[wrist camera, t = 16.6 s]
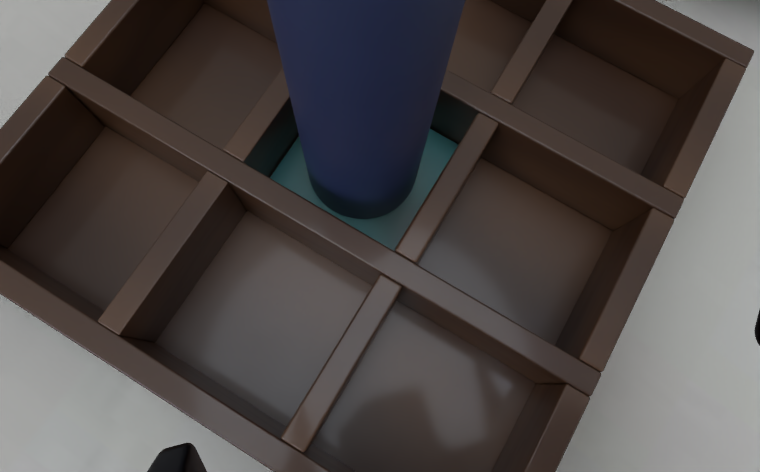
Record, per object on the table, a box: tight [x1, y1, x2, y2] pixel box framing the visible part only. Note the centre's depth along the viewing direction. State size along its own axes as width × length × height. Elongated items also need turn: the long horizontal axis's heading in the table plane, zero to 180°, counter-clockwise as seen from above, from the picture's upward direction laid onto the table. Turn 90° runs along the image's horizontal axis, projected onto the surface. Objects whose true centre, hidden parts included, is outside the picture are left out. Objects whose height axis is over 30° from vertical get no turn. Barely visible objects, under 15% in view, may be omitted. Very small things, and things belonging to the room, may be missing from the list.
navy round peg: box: [267, 0, 465, 219], centre depth 15 cm, size 4×4×13 cm
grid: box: [0, 0, 754, 472], centre depth 20 cm, size 20×20×4 cm
